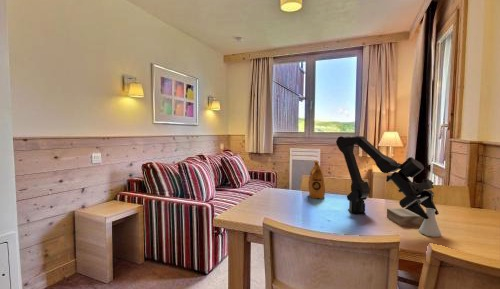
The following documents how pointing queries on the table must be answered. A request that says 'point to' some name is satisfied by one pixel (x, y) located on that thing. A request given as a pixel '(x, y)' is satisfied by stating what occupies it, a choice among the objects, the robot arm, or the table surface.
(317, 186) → the coffee package
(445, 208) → the table surface
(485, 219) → the table surface
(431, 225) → the flask
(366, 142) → the robot arm
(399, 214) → the walnut block
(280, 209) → the table surface
